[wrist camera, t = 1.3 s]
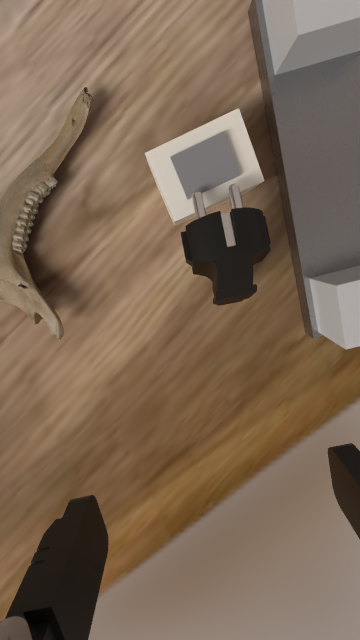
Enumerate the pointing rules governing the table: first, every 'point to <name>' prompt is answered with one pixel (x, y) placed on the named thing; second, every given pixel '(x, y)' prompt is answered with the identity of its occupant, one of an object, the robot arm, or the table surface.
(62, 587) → the robot arm
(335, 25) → the mounted modules
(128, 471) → the table surface
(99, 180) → the table surface
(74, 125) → the jawbone
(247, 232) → the power plug
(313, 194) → the rail base
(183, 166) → the block
